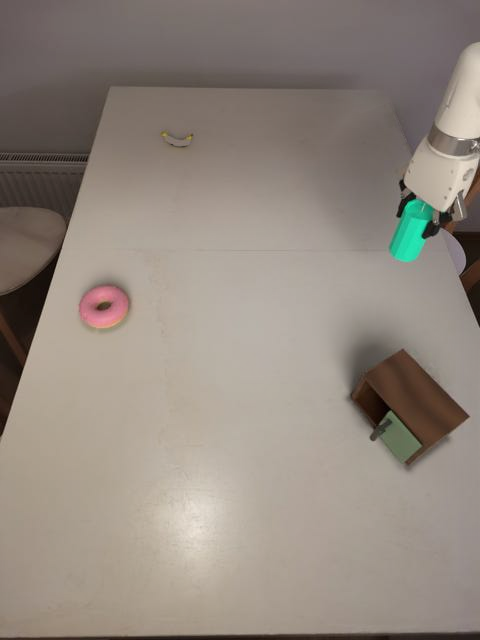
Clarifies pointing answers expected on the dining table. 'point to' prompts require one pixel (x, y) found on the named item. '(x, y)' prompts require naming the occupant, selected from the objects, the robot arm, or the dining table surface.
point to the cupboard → (408, 401)
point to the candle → (411, 231)
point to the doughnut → (108, 315)
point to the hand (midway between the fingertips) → (415, 224)
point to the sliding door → (396, 437)
